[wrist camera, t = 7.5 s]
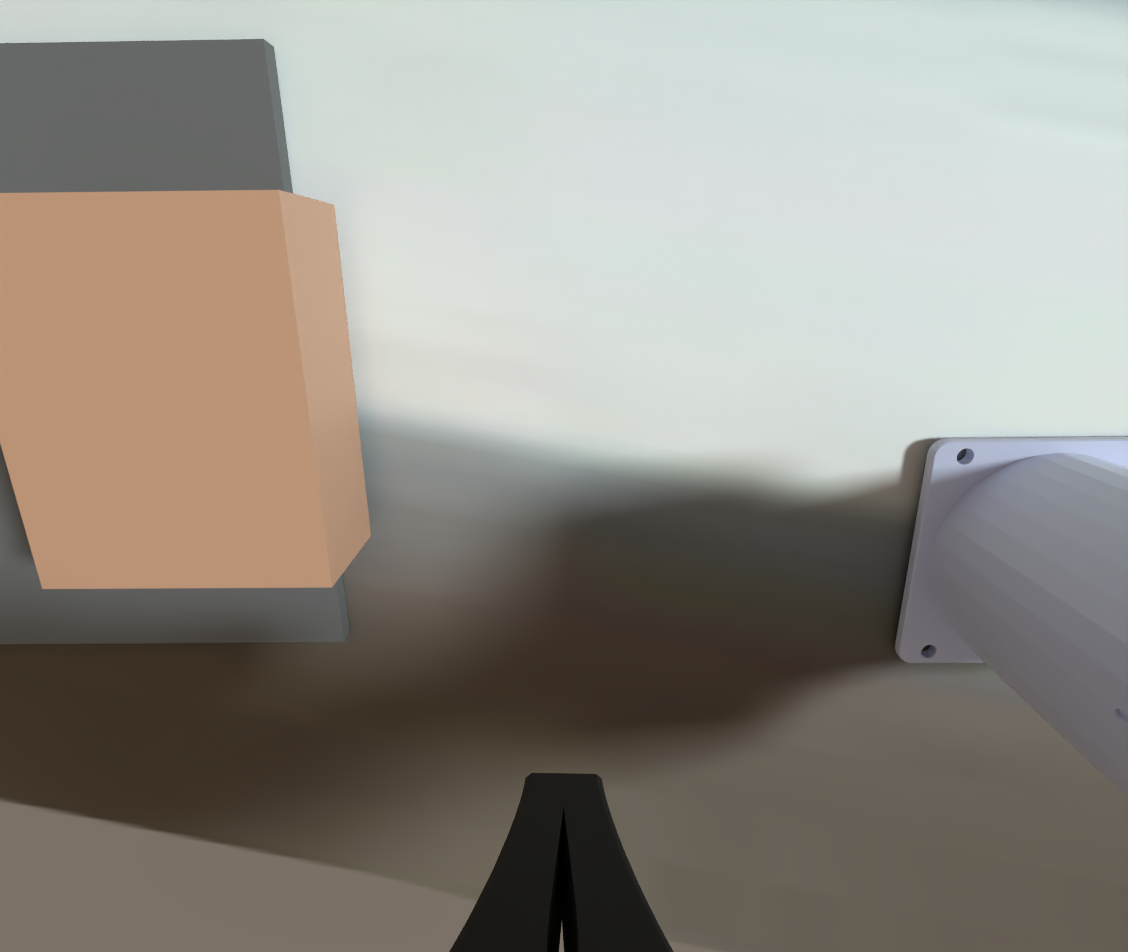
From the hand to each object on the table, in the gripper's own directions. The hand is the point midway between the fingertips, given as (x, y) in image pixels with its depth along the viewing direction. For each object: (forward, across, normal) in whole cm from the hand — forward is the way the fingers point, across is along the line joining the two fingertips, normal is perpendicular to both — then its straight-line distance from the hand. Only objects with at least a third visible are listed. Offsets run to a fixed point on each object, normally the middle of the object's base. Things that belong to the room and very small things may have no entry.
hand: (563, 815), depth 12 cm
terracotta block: (+8, +6, -6) cm, 12 cm away
